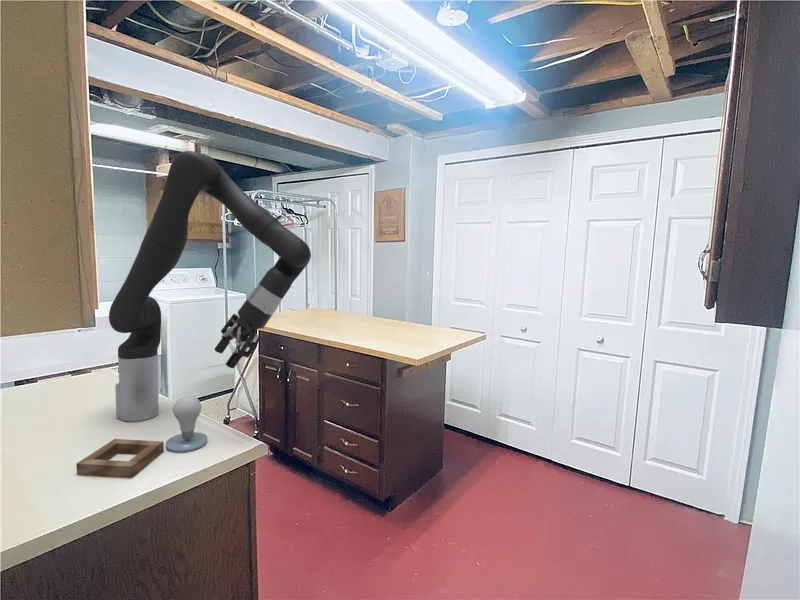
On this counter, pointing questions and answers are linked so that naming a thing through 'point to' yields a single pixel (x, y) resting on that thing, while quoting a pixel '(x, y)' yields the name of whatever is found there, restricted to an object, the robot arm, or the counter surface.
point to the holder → (126, 469)
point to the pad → (186, 443)
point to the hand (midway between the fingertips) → (223, 359)
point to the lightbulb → (187, 415)
